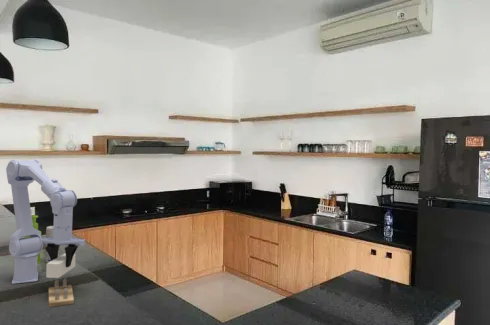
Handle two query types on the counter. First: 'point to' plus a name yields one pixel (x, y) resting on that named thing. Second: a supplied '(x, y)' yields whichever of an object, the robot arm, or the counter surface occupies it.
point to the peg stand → (60, 294)
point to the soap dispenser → (35, 225)
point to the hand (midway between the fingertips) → (61, 266)
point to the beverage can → (48, 235)
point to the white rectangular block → (59, 267)
